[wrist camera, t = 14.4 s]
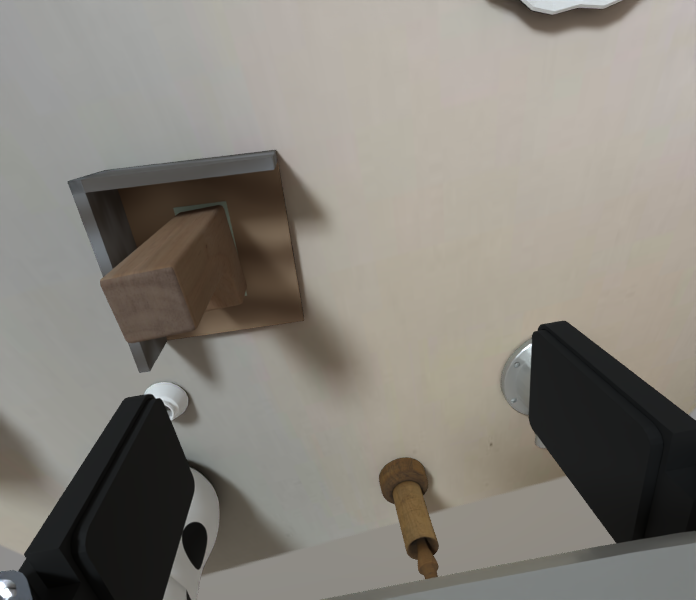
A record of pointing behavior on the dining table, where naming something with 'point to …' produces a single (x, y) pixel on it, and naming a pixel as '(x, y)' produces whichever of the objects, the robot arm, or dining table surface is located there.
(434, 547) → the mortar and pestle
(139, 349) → the tray
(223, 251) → the wooden block
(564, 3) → the plate
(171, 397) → the lidless jar
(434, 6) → the dining table surface
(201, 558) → the milk container
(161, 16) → the dining table surface
